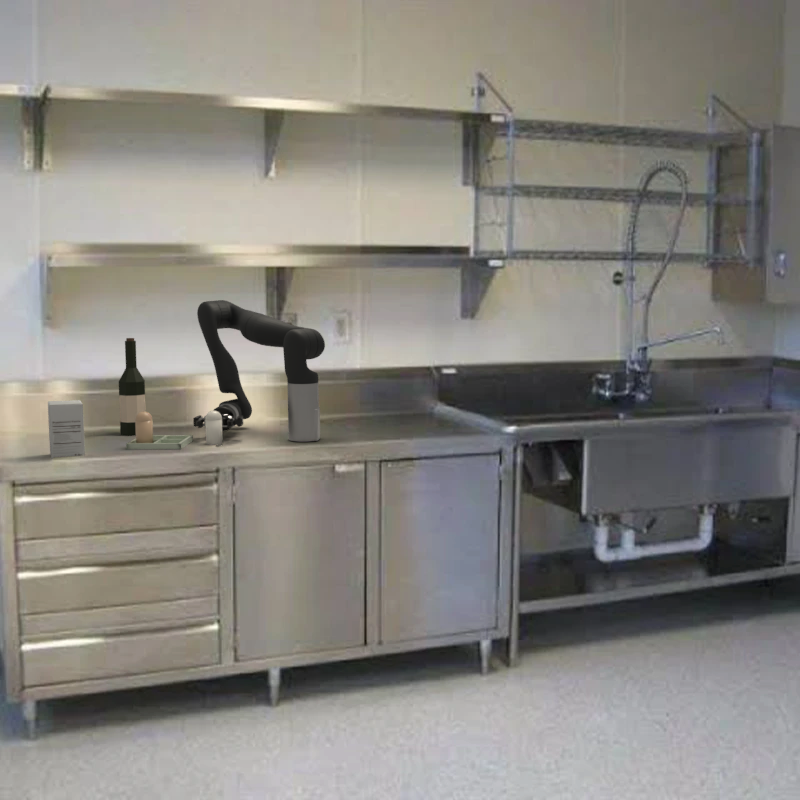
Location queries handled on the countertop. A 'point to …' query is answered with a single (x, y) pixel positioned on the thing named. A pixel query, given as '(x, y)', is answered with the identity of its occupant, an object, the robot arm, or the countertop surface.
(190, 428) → the countertop surface
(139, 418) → the tan dome-topped cylinder
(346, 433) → the countertop surface
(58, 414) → the supplement box
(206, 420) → the white dome-topped cylinder
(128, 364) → the wine bottle
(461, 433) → the countertop surface
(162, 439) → the green rectangular open tray
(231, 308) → the robot arm
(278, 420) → the countertop surface
